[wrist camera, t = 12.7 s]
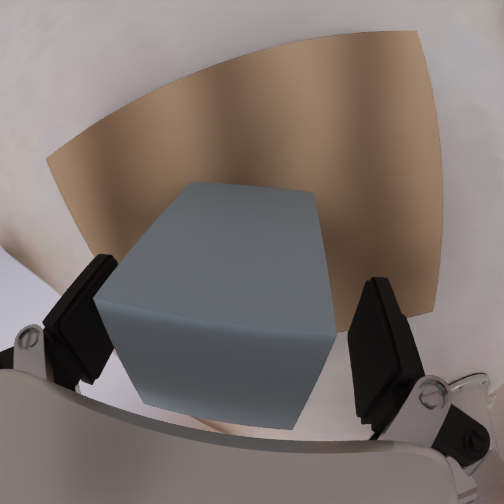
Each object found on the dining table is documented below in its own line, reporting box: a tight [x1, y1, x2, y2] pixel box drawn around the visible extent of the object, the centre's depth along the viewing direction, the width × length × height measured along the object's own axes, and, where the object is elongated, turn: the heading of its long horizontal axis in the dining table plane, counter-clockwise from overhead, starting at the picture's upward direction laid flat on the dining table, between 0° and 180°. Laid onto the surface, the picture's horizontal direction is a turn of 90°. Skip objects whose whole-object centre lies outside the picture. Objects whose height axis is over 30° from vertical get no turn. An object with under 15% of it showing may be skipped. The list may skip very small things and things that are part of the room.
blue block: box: [93, 181, 337, 430], centre depth 10 cm, size 6×6×8 cm
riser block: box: [46, 31, 443, 333], centre depth 16 cm, size 20×16×6 cm
